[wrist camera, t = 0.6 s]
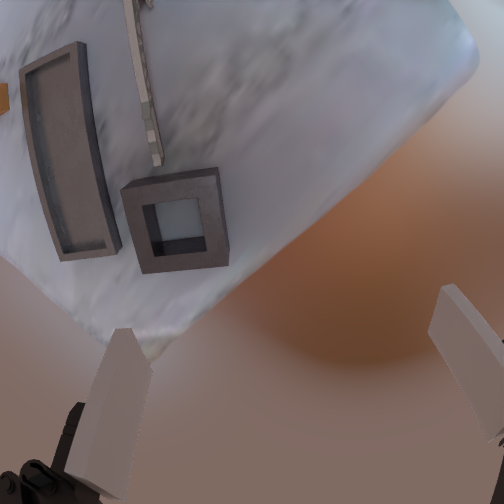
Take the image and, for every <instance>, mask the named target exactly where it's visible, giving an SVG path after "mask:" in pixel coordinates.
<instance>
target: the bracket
mask: <svg viewBox="0 0 504 504" xmlns="http://www.w3.org/2000/svg"><path fill="white" fill-rule="evenodd" d="M145 1H146V3H147V5H148V6H149V8H151V7H153V0H145ZM123 4H124V11H125V18H126V25H127V31H128V37H129V43H130V49H131V55H132V60H133V66H134V71H135V76H136V81H137V86H138V91H139V96H140V100H141V106H142V119H143V120H144V121H145V126H146V132H147V136H148V142H149V145H150V149H151V155H152V158H153V162H154V167H158V166H162V165H163V161H164V154H163V148H162V144H161V139H160V134H159V130H158V125H157V120H156V115H155V110H154V105H153V100H152V94H151V89H150V83H149V78H148V72H147V66H146V60H145V54H144V47H143V41H142V34H141V27H140V19H139V10H140V3H139V0H123Z"/></svg>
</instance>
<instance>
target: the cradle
mask: <svg viewBox="0 0 504 504" xmlns="http://www.w3.org/2000/svg"><path fill="white" fill-rule="evenodd" d="M19 78H20V92H21V102H22V111H23V119H24V126H25V132H26V138H27V144H28V149H29V155H30V160H31V164H32V169H33V173H34V178H35V182H36V186H37V190H38V194H39V197H40V201H41V204H42V208H43V211H44V215H45V218H46V221H47V224H48V228H49V231H50V234H51V237H52V240H53V243H54V245H55V248H56V251H57V254H58V256H59V259H60V262H62V261H70V260H78V259H86V258H95V257H103V256H111V255H117V253H118V252H119V250H120V249H121V248H122V243H121V240H120V236H119V233H118V229H117V225H116V222H115V218H114V214H113V210H112V206H111V202H110V198H109V194H108V190H107V185H106V181H105V176H104V172H103V167H102V162H101V157H100V152H99V147H98V141H97V135H96V129H95V123H94V116H93V109H92V102H91V94H90V85H89V76H88V64H87V50H86V44H85V43H81V42H78V41H76V42H74V43H71V44H69V45H67V46H65V47H62V48H60V49H58V50H56V51H54V52H52V53H50V54H48V55H46V56H44V57H42V58H40V59H38V60H36V61H34V62H32V63H31V64H29V65H27V66H25V67H23V68H22V69H20V70H19Z"/></svg>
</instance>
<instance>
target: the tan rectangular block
mask: <svg viewBox="0 0 504 504" xmlns="http://www.w3.org/2000/svg"><path fill="white" fill-rule="evenodd" d="M8 110H10V109H9V99H8V86H7V83H2V84H0V115H1V114H3V113H4V112H6V111H8Z"/></svg>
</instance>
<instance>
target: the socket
mask: <svg viewBox="0 0 504 504" xmlns="http://www.w3.org/2000/svg"><path fill="white" fill-rule="evenodd" d="M120 192H121V196H122V201H123V205H124V209H125V213H126V217H127V221H128V225H129V229H130V232H131V236H132V240H133V243H134V247H135V250H136V254H137V257H138V261H139V264H140V267H141V271H142V274H150V273H160V272H171V271H181V270H191V269H202V268H212V267H222V266H228V265H229V250H230V249H229V242H228V235H227V228H226V221H225V214H224V207H223V200H222V193H221V185H220V178H219V171H218V167H216V168H208V169H200V170H193V171H187V172H180V173H174V174H167V175H161V176H156V177H150V178H144V179H139V180H134V181H132V182H130V183H129V184H128V185H126V186H125V187H124V188H122V189H121V190H120ZM197 197H198V202H199V208H200V213H201V219H202V225H203V231H204V236H205V237H196V238H187V239H179V240H170V241H162V238H161V234H160V229H159V225H158V221H157V216H156V212H155V207H154V204H155V203H161V202H168V201H175V200H182V199H189V198H197Z"/></svg>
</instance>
